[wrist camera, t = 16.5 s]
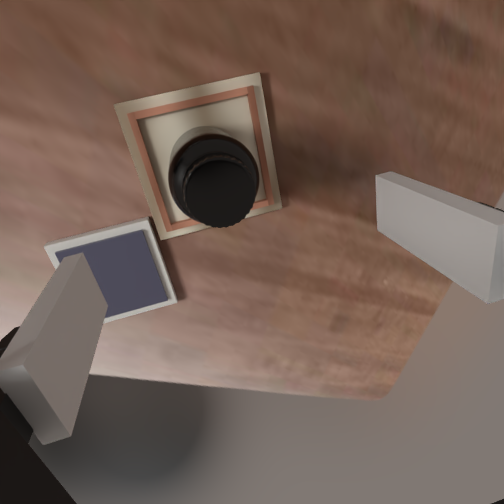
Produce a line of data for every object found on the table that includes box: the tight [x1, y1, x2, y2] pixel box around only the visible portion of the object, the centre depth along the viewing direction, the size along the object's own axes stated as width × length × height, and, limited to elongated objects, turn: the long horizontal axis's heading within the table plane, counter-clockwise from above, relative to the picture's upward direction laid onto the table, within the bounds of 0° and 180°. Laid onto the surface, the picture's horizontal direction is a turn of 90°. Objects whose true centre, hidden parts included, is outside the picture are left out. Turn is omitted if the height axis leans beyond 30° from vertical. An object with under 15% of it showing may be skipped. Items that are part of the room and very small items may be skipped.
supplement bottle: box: [168, 126, 260, 228], centre depth 28 cm, size 7×7×12 cm
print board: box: [114, 72, 282, 240], centre depth 33 cm, size 13×13×1 cm
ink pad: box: [44, 217, 177, 323], centre depth 36 cm, size 10×10×1 cm
